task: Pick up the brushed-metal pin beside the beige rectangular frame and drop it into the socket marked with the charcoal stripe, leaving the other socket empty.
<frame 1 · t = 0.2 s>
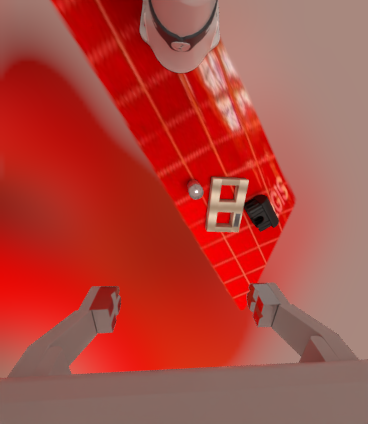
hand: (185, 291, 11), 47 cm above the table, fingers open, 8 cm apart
metal pin: (193, 185, 57), on the table
end cap: (256, 208, 62), on the table
beige rectangular frame: (224, 204, 60), on the table
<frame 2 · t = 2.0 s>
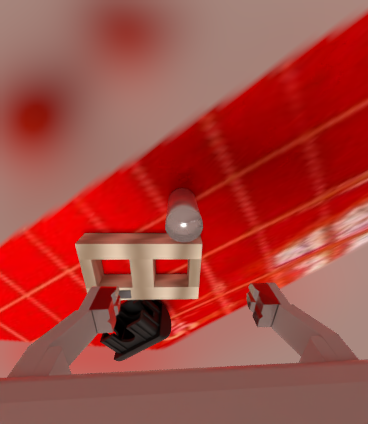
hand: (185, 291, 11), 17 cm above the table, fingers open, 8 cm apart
metal pin: (181, 200, 26), on the table
end cap: (141, 308, 35), on the table
beige rectangular frame: (145, 261, 30), on the table
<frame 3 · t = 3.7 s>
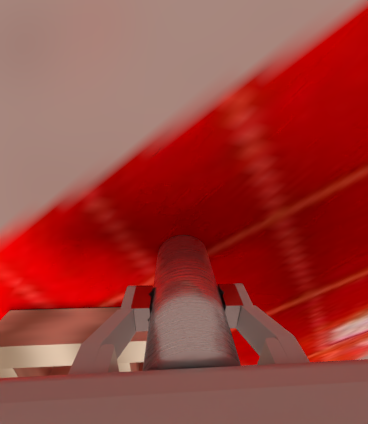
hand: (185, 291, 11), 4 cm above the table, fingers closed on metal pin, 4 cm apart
metal pin: (182, 256, 14), on the table, touching gripper
beige rectangular frame: (121, 345, 18), on the table
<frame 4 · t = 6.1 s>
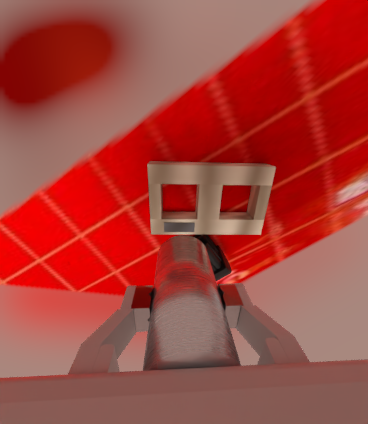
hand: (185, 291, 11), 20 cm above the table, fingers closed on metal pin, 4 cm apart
metal pin: (182, 256, 14), point 16 cm above the table, touching gripper
end cap: (193, 254, 34), on the table
beige rectangular frame: (206, 196, 30), on the table
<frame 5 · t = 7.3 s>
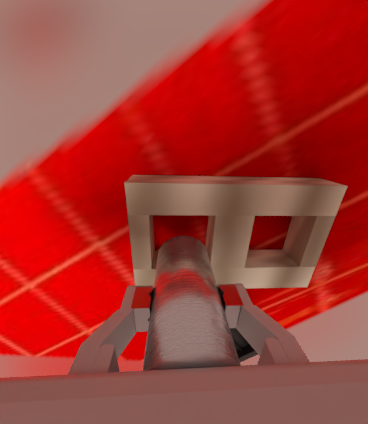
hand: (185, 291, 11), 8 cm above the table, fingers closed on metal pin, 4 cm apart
metal pin: (182, 257, 14), point 5 cm above the table, touching gripper
end cap: (200, 305, 24), on the table
beige rectangular frame: (222, 228, 19), on the table
when the fingers open (5 cm above the table, at t = 8.3 s): metal pin drops 1 cm, resting in beige rectangular frame.
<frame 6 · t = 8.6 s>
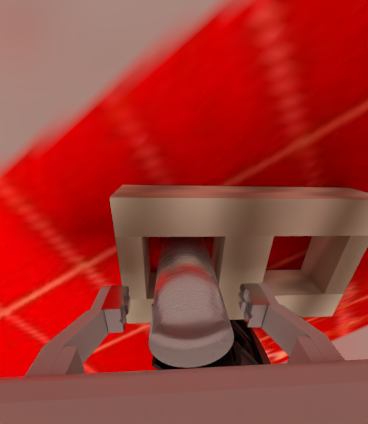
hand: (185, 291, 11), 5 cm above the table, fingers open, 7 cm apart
metal pin: (183, 246, 16), resting in beige rectangular frame
end cap: (204, 330, 21), on the table
beige rectangular frame: (231, 246, 16), on the table
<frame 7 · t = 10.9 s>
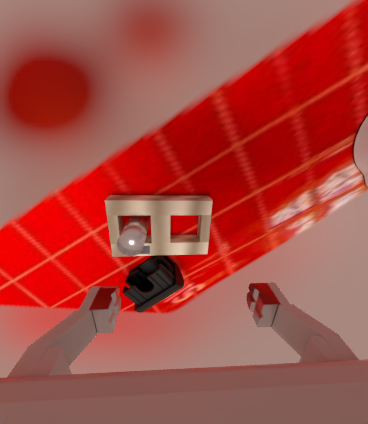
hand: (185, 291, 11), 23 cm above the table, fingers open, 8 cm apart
metal pin: (138, 222, 34), resting in beige rectangular frame
end cap: (155, 270, 39), on the table
beige rectangular frame: (161, 222, 35), on the table
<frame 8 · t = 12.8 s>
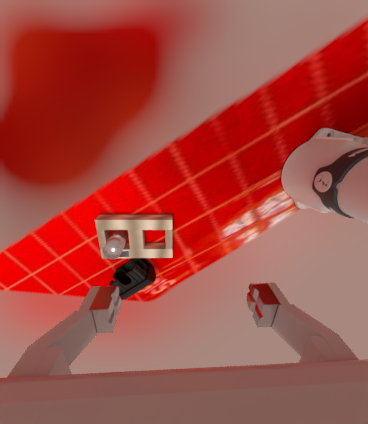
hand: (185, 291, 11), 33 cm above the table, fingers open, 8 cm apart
metal pin: (121, 233, 46), resting in beige rectangular frame
end cap: (136, 268, 52), on the table
beige rectangular frame: (138, 233, 47), on the table
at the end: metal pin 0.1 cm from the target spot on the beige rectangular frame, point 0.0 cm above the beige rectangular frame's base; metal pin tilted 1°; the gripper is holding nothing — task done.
